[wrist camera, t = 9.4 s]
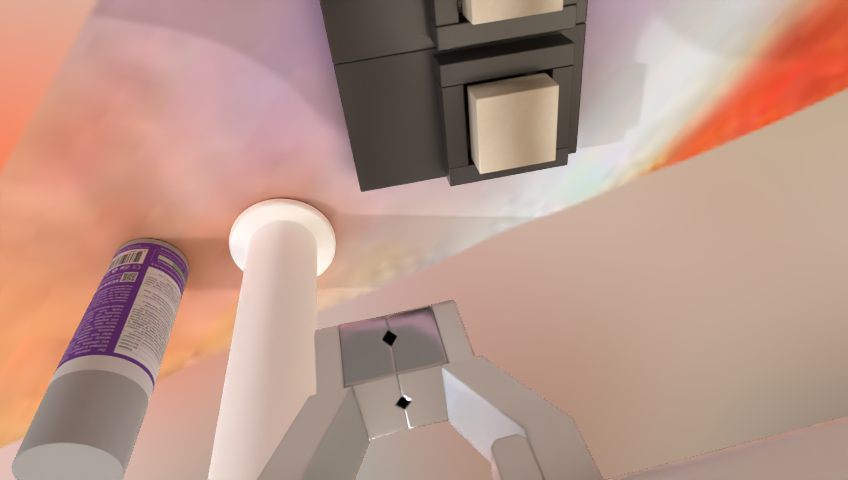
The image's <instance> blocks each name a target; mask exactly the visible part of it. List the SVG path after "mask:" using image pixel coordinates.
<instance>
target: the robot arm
mask: <svg viewBox="0 0 848 480" xmlns="http://www.w3.org/2000/svg"><path fill="white" fill-rule="evenodd" d="M314 351H315V374H316V394H315V395H311V396H309V397H308V399H307V400H306V402H305V403H304V405H303V407H302V408H301V410H300V411H299V413H298V415H297V416H296V418H295V419H294V421H293V423H292V424H291V426H290V427H289V429H288V431H287V432H286V434H285V435H284V437H283V439H282V440H281V442H280V443H279V445H278V446H277V448H276V450H275V451H274V453H273V454H272V456H271V458H270V459H269V461H268V462H267V464H266V466H265V467H264V469H263V470H262V472H261V474H260V475H259V477H258V478H257V480H355V478H356V475H357V473H358V470H359V468H360V465H361V463H362V460H363V458H364V455H365V453H366V450H367V448H368V445H369V443H370V441H369V440H370V439H374V438H377V437H381V436H385V435H388V434H392V433H395V432H399V431H403V430H407V429H411V428H416V427H420V426H425V425H430V424H434V423H439V422H443V421H448V420H449V423H450V424H451V425H452V426H453V427H454V428H455V429H456V430H458V431H459V432H460V433H461V435H463V436H464V437H465V438H466V439H467V440H468V441H469V442H470V443H471V444H472V445H473V446H474V447H475V448H476V449H477V450H478V451H479V452H480V453H481V454H482V455H483V456H484V457H485V458H486V459H487V460H488V461H489V462H490V463H491V464H492V480H604V479H603V477H602V475H601V473H600V471H599V469H598V467H597V465H596V463H595V461H594V459H593V457H592V455H591V453H590V451H589V449H588V447H587V445H586V443H585V441H584V439H583V437H582V435H581V433H580V431H579V429H578V427H577V425H576V423H575V421H574V419H573V418H572V417H571V416H569V415H568V414H566V413H565V412H563V411H562V410H561V409H559V408H558V407H556V406H555V405H553V404H552V403H550V402H549V401H548V400H546V399H545V398H543V397H542V396H540V395H539V394H537V393H536V392H534V391H533V390H532V389H530V388H529V387H527V386H526V385H524V384H523V383H521V382H520V381H519V380H517V379H516V378H514V377H513V376H511V375H510V374H508V373H507V372H506V371H504V370H503V369H501V368H500V367H498V366H497V365H495V364H494V363H493V362H491V361H490V360H488V359H487V358H485V357H484V356H477V357H475V354H474V352H473V349H472V346H471V343H470V341H469V338H468V335H467V332H466V330H465V327H464V324H463V321H462V319H461V316H460V313H459V310H458V308H457V305H456V303H455V301H454V300H449V301H445V302H440V303H436V304H432V305H431V306H430V305H427V306H423V307H419V308H414V309H410V310H406V311H402V312H398V313H393V314H389V315H385V316H381V317H376V318H371V319H366V320H361V321H356V322H351V323H346V324H341V325H338V326H333V327H329V328H323V329H318V330H315V334H314ZM408 426H409V427H408ZM606 480H848V416H844V417H840V418H837V419H833V420H829V421H825V422H821V423H818V424H814V425H810V426H807V427H803V428H799V429H795V430H791V431H788V432H784V433H780V434H777V435H772V436H768V437H765V438H761V439H757V440H753V441H750V442H746V443H742V444H738V445H734V446H731V447H727V448H723V449H719V450H715V451H712V452H708V453H704V454H700V455H696V456H693V457H689V458H685V459H682V460H678V461H674V462H670V463H666V464H662V465H659V466H655V467H651V468H647V469H644V470H640V471H636V472H632V473H628V474H625V475H621V476H617V477H613V478H609V479H606Z"/></svg>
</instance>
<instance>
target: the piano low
mask: <svg viewBox="0 0 848 480" xmlns="http://www.w3.org/2000/svg"><path fill="white" fill-rule="evenodd" d="M585 29H586V23H579V24H576V28H574V29H568V30H562V31H556V32H550V33H544V34H538V35H532V36H526V37H520V38H514V39H508V40H502V41H496V42H490V43H484V44H478V45H472V46H466V47H460V48H454V49H448V50H442V51H438V49H437V48H436V47H435V48H429V49H423V50H417V51H411V52H405V53H399V54H393V55H387V56H381V57H375V58H369V59H363V60H357V61H351V62H345V63H339V64H334V69H335V74H336V79H337V83H338V88H339V93H340V97H341V102H342V107H343V111H344V116H345V120H346V125H347V130H348V134H349V139H350V144H351V148H352V153H353V157H354V162H355V167H356V171H357V176H358V181H359V185H360V190H361V192H364V191H370V190H375V189H380V188H386V187H391V186H397V185H402V184H408V183H413V182H418V181H424V180H429V179H435V178H440V177H447V179H448V181H449V184H450V186H455V185H461V184H466V183H472V182H477V181H482V180H488V179H493V178H498V177H504V176H509V175H515V174H520V173H525V172H531V171H536V170H542V169H547V168H552V167H558V166H563V165H567V162H568V154H570V153H575V152H576V147H577V133H578V120H579V107H580V94H581V81H582V68H583V55H584V42H585ZM540 73H546V74H547V75H548V76H549V77H551V78H552V79H553V80H554V81H555V82H556V83H557V84H558V85H559V98H558V118H557V138H556V158H555V160H554V161H549V162H543V163H538V164H533V165H527V166H522V167H516V168H511V169H506V170H500V171H495V172H489V173H484V174H480V173H479V171H478V169H477V167H476V165H475V163H474V161H473V159H472V158H471V142H470V126H469V109H468V93H467V86H470V85H476V84H482V83H488V82H493V81H499V80H505V79H511V78H517V77H522V76H528V75H534V74H540Z"/></svg>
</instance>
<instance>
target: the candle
mask: <svg viewBox="0 0 848 480" xmlns="http://www.w3.org/2000/svg"><path fill="white" fill-rule="evenodd" d="M229 248H230V253H231V255H232V258H233V260H234V261H235V263H236V264H237V266H238V267H239V268H240V269H241V270H242V271H243V272H244V275H243V280H242V286H241V292H240V298H239V303H238V309H237V315H236V321H235V326H234V332H233V338H232V344H231V349H230V355H229V362H228V367H227V372H226V378H225V384H224V390H223V395H222V401H221V407H220V412H219V418H218V424H217V430H216V435H215V441H214V448H213V453H212V458H211V464H210V470H209V475H208V480H257V478H258V477H259V475H260V474H261V472H262V470H263V469H264V467H265V466H266V464H267V462H268V461H269V459H270V458H271V456H272V454H273V453H274V451H275V450H276V448H277V446H278V445H279V443H280V442H281V440H282V439H283V437H284V435H285V434H286V432H287V431H288V429H289V427H290V426H291V424H292V423H293V421H294V419H295V418H296V416H297V415H298V413H299V411H300V410H301V408H302V407H303V405H304V403H305V402H306V400H307V399H308V397H309V396H311V395H315V394H316V374H315V351H314V334H315V330H317V276H319V275H320V274H321V273H323V272H324V271H325V270H326V269H327V267H328V266H329V265H330V263H331V262H332V260H333V257H334V254H335V250H336V239H335V233H334V230H333V228H332V226H331V224H330V222H329V221H328V219H327V218H326V217H325V216H324V215H323V214H322V213H321V212H320V211H318V210H317V209H316V208H314V207H312V206H310V205H308V204H306V203H304V202H300V201H297V200H292V199H270V200H265V201H262V202H259V203H256V204H254V205H252V206H250V207H249V208H247V209H246V210H245V211H243V212H242V213H241V214H240V215H239V216H238V218H237V219H236V220H235V222H234V224H233V226H232V229H231V232H230V237H229Z"/></svg>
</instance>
